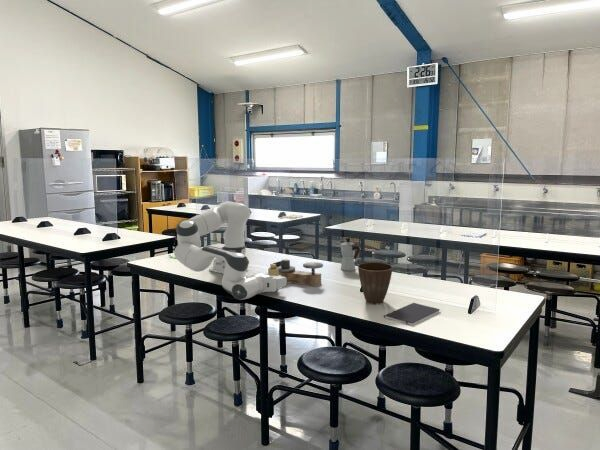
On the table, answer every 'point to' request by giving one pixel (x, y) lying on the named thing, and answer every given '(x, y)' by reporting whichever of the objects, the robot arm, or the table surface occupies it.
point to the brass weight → (273, 270)
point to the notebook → (412, 313)
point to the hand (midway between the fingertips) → (274, 275)
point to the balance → (301, 273)
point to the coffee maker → (348, 255)
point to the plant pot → (374, 281)
